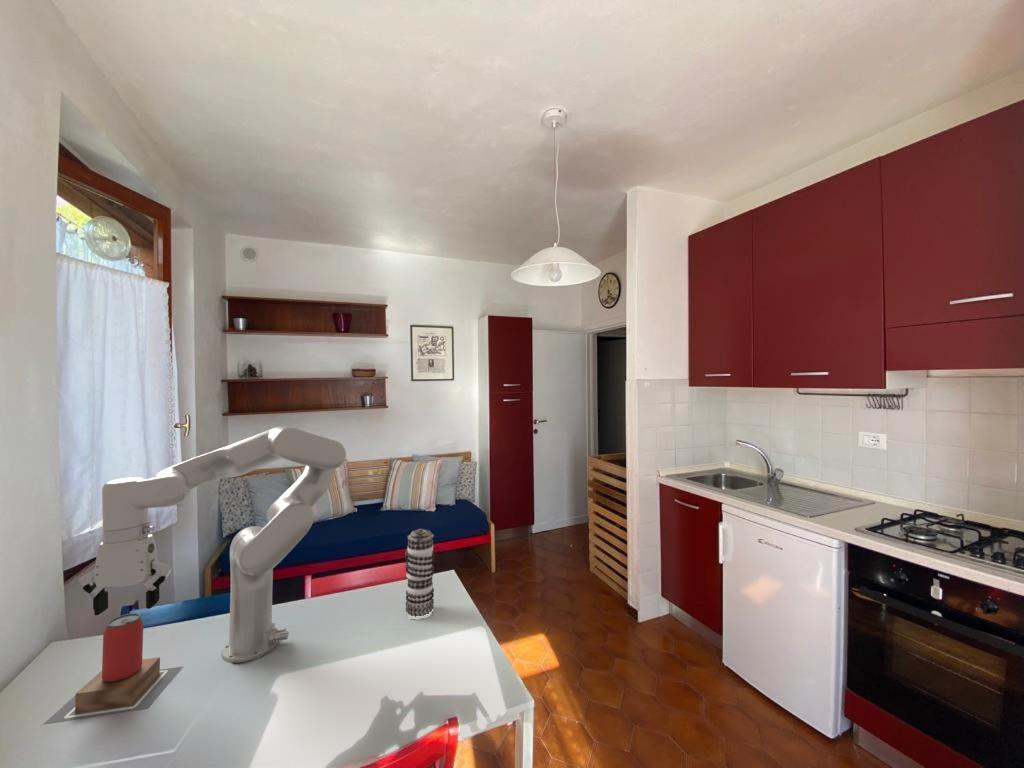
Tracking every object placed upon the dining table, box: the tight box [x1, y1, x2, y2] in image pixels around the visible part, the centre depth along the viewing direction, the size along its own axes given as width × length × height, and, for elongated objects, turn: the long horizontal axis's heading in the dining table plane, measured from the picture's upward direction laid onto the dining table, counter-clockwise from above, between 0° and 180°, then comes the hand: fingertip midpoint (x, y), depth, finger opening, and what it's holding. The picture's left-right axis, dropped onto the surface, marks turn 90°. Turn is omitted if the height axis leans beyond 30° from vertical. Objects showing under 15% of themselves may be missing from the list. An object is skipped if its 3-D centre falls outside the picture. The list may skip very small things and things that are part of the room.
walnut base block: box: [75, 656, 161, 713], centre depth 92 cm, size 10×10×4 cm
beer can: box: [101, 612, 144, 682], centre depth 92 cm, size 7×7×12 cm
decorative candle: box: [404, 528, 436, 617], centre depth 127 cm, size 9×9×25 cm
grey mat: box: [43, 666, 184, 725], centre depth 92 cm, size 18×14×1 cm
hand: (127, 608), depth 93 cm, fingers open, 9 cm apart
